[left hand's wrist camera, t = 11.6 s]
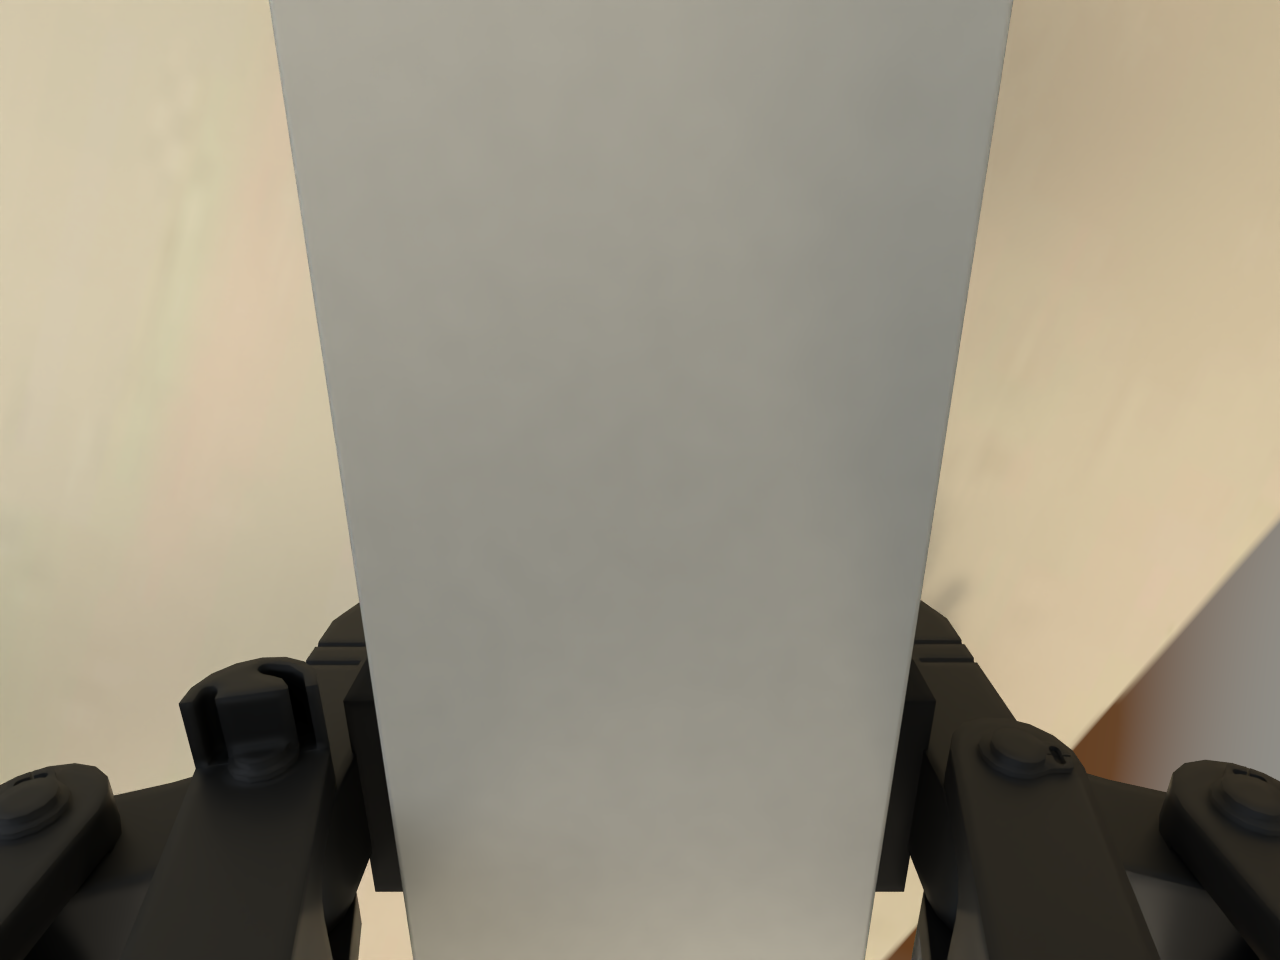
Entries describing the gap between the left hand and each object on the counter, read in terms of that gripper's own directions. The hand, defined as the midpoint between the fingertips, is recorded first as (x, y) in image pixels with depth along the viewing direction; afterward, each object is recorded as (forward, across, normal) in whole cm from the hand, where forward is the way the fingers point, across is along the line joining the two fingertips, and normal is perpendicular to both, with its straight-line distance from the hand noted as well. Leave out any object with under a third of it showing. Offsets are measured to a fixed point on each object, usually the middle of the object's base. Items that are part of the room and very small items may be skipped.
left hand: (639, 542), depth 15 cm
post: (+1, 0, -30) cm, 30 cm away
